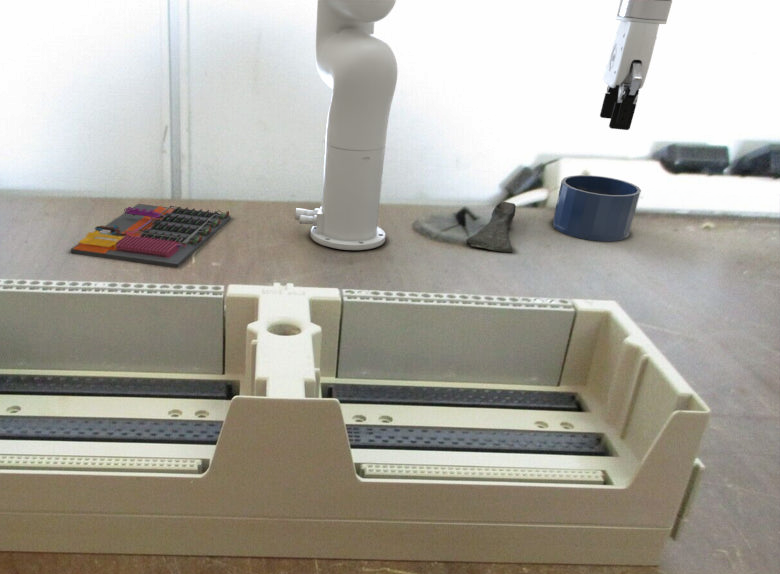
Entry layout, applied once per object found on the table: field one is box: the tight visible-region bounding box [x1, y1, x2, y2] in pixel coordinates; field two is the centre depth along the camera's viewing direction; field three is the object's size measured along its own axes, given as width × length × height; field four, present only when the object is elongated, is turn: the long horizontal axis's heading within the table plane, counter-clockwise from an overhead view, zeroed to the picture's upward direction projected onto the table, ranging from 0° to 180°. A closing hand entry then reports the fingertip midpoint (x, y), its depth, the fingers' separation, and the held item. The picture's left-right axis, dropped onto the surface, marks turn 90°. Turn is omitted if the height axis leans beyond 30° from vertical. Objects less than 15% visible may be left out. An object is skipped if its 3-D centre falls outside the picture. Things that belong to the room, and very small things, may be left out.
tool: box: [465, 201, 517, 253], centre depth 134 cm, size 21×8×3 cm, turn 160°
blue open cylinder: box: [552, 174, 642, 242], centre depth 137 cm, size 13×13×8 cm
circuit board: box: [70, 203, 231, 268], centre depth 126 cm, size 25×18×3 cm
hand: (613, 123), depth 130 cm, fingers open, 9 cm apart
